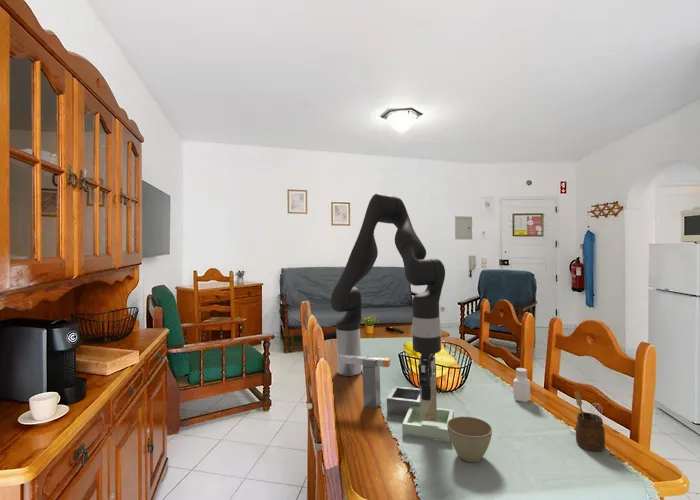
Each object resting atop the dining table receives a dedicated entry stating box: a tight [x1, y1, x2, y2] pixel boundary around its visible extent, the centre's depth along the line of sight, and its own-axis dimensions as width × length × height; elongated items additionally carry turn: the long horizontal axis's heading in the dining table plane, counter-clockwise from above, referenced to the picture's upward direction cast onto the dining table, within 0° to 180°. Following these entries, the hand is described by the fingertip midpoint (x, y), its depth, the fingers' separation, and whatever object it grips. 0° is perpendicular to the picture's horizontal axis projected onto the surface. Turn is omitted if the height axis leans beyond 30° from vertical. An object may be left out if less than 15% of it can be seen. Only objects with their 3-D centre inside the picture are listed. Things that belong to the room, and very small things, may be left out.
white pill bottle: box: [513, 367, 531, 403], centre depth 118 cm, size 4×4×10 cm
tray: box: [401, 406, 455, 443], centre depth 103 cm, size 12×12×3 cm
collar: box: [386, 385, 420, 417], centre depth 115 cm, size 10×10×4 cm
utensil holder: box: [574, 391, 606, 452], centre depth 91 cm, size 6×6×12 cm
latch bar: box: [338, 355, 391, 368], centre depth 119 cm, size 2×16×2 cm, turn 70°
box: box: [419, 373, 438, 421], centre depth 102 cm, size 5×4×11 cm
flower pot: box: [447, 415, 493, 463], centre depth 88 cm, size 10×10×7 cm
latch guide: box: [361, 355, 381, 409], centre depth 118 cm, size 5×4×14 cm
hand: (427, 395), depth 103 cm, fingers closed on box, 5 cm apart
